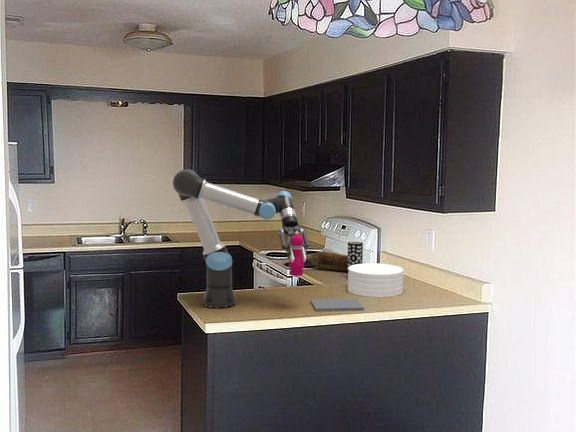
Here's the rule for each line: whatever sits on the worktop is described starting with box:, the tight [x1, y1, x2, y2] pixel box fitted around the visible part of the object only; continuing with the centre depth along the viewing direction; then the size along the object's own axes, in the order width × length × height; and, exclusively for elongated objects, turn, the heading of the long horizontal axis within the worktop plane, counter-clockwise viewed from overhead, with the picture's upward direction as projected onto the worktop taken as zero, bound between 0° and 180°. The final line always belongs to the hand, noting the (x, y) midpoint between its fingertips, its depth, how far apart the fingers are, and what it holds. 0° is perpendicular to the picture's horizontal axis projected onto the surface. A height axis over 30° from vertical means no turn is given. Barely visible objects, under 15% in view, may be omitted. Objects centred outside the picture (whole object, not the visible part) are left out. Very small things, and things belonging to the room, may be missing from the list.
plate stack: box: [347, 262, 404, 298], centre depth 313 cm, size 28×28×12 cm
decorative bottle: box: [286, 250, 348, 273], centre depth 366 cm, size 11×11×45 cm
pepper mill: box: [288, 231, 305, 277], centre depth 278 cm, size 7×7×20 cm
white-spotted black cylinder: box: [346, 241, 364, 279], centre depth 339 cm, size 8×8×20 cm
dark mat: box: [310, 298, 365, 312], centre depth 282 cm, size 22×16×1 cm
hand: (298, 260), depth 275 cm, fingers closed on pepper mill, 5 cm apart
